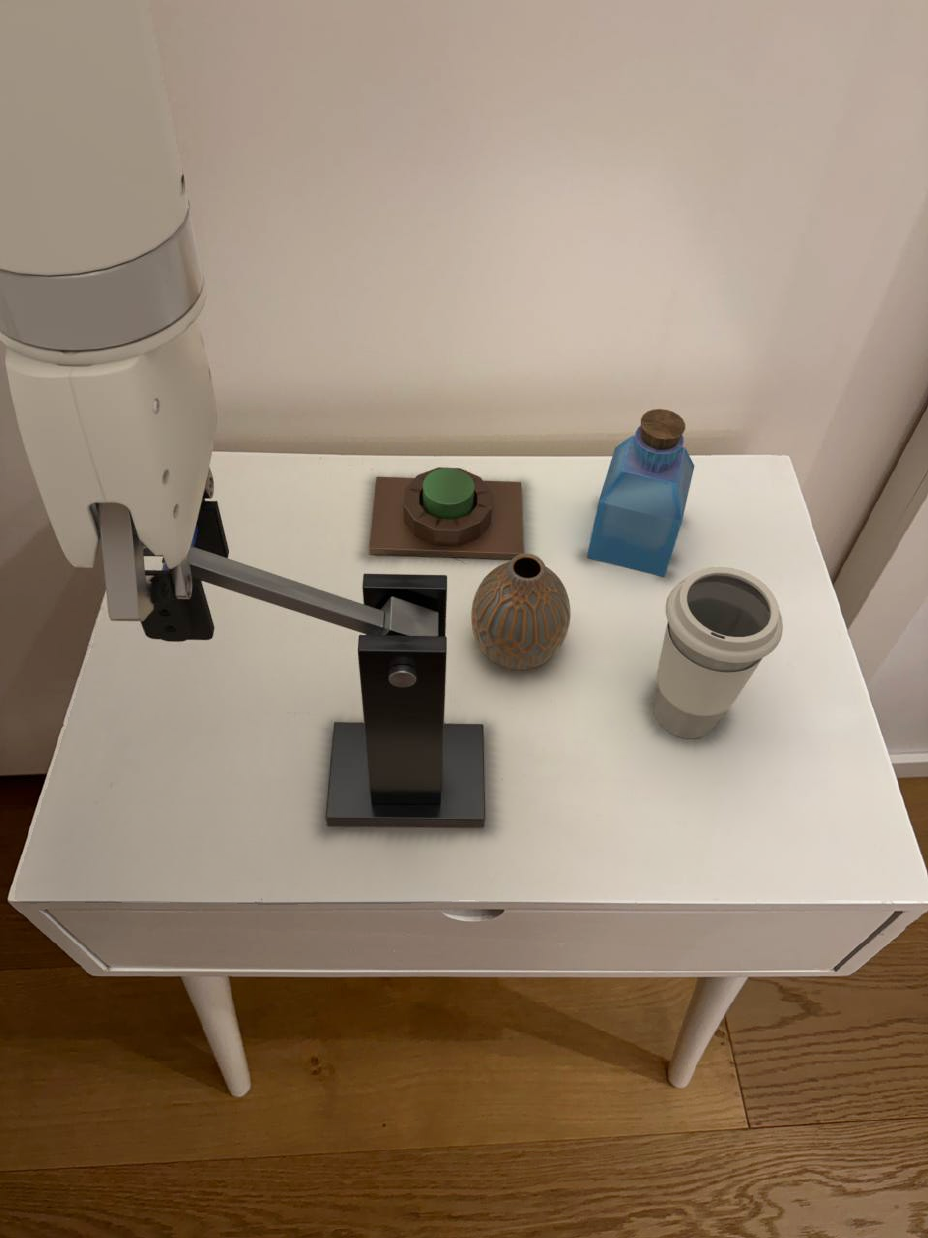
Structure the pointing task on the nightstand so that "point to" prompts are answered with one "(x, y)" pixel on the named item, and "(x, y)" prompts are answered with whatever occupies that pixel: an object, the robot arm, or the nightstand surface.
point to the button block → (447, 521)
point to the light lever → (311, 598)
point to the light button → (448, 493)
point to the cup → (712, 647)
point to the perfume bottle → (644, 496)
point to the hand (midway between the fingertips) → (189, 593)
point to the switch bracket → (405, 728)
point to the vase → (521, 613)
